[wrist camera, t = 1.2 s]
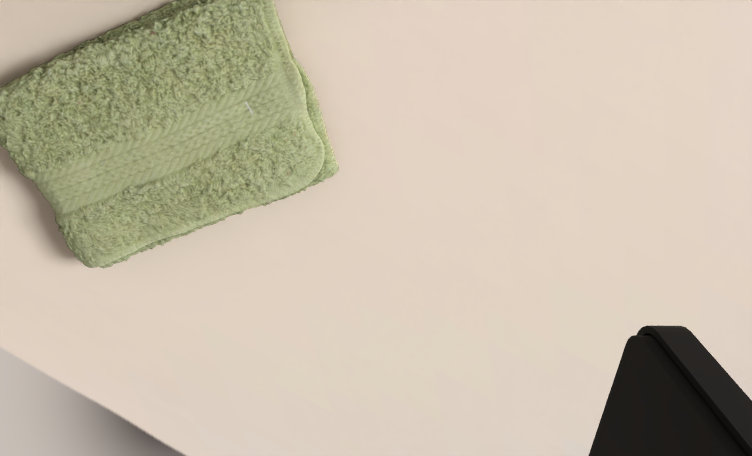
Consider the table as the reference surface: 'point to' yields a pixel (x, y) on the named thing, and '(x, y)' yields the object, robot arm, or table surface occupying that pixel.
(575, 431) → the table surface
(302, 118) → the washcloth
